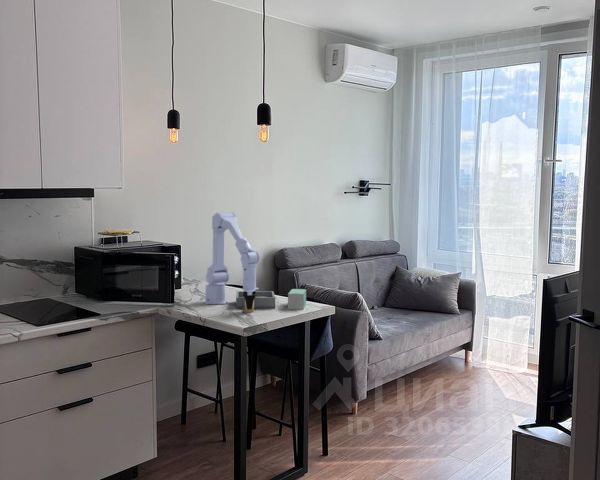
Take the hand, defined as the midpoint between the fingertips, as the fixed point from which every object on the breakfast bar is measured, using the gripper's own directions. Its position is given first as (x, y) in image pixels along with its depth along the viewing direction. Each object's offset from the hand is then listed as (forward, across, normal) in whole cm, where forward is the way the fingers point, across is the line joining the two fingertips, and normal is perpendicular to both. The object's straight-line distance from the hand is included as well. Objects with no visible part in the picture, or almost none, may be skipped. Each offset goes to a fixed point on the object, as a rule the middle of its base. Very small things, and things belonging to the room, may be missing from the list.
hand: (249, 308), depth 272 cm
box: (+2, +12, -23) cm, 26 cm away
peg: (+2, 0, 0) cm, 2 cm away
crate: (+2, +15, -3) cm, 15 cm away
